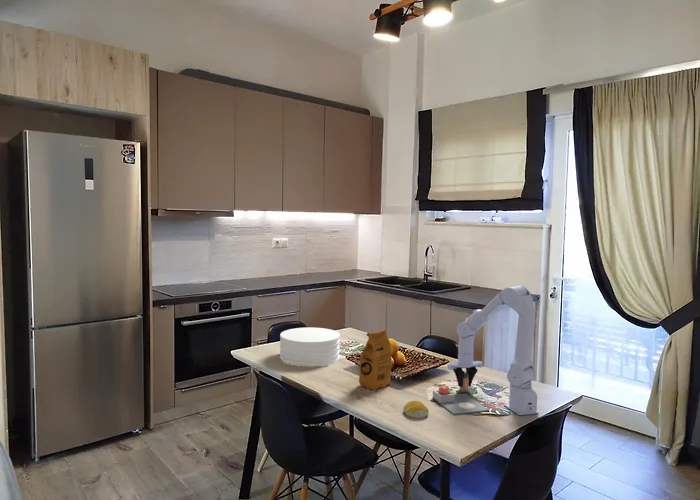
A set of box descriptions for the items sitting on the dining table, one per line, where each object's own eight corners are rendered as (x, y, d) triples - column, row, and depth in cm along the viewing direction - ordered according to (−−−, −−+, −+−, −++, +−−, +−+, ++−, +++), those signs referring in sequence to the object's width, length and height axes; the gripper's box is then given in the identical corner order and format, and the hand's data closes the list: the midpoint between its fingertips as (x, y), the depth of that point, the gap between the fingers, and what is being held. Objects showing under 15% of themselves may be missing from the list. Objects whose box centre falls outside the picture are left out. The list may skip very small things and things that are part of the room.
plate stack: (316, 371, 213) (317, 345, 212) (267, 360, 228) (267, 335, 227) (350, 356, 237) (351, 332, 236) (303, 346, 251) (304, 324, 250)
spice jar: (470, 391, 192) (470, 374, 192) (462, 392, 191) (463, 375, 191) (465, 388, 195) (466, 371, 195) (458, 389, 194) (459, 372, 194)
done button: (450, 396, 181) (450, 388, 181) (441, 397, 180) (441, 389, 180) (445, 393, 185) (445, 385, 185) (436, 394, 184) (437, 386, 183)
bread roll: (421, 407, 176) (422, 396, 176) (431, 418, 167) (431, 406, 167) (399, 409, 174) (400, 398, 174) (408, 419, 165) (408, 408, 165)
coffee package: (355, 385, 197) (356, 331, 195) (375, 378, 206) (377, 326, 204) (373, 391, 190) (375, 335, 188) (394, 384, 199) (395, 330, 197)
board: (489, 411, 174) (489, 402, 173) (454, 415, 169) (454, 406, 169) (465, 394, 189) (465, 387, 189) (432, 398, 185) (432, 390, 184)
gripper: (476, 348, 198) (474, 381, 199) (444, 350, 194) (443, 384, 195) (486, 353, 191) (484, 387, 192) (453, 355, 187) (451, 390, 188)
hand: (464, 386), depth 193 cm, fingers closed on spice jar, 3 cm apart
